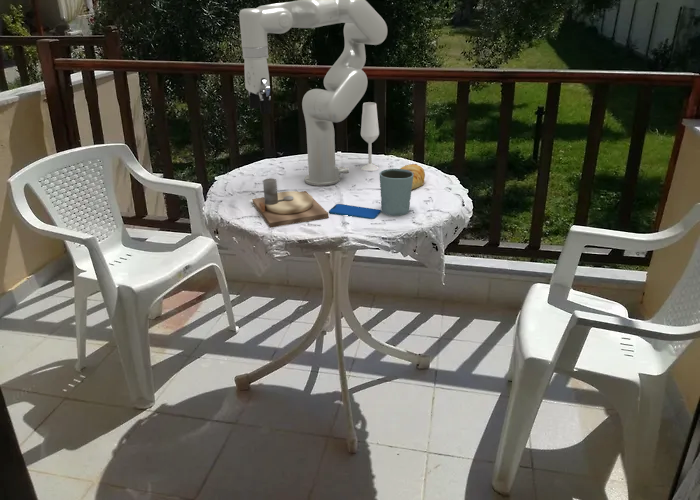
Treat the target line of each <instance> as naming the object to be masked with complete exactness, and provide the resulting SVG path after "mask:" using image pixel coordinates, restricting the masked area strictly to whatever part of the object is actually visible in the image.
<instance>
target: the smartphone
mask: <svg viewBox="0 0 700 500" xmlns="http://www.w3.org/2000/svg"><path fill="white" fill-rule="evenodd" d="M329 213H330V215H335V216H343V215H348V216H347V217H350V216H352V218H359V219H367V220H375V219H376V218H377V217H378V216H379V215H380V214H381V213H382V210H381V209H377V208H371V207H370V208H369V207H363V206H359V205H358V206H357V205H349V204H341V203H337V204H334V206H333V207H331V208H330V209H329V210H328V214H329Z"/></svg>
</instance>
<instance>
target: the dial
mask: <svg viewBox="0 0 700 500" xmlns="http://www.w3.org/2000/svg"><path fill="white" fill-rule="evenodd" d="M262 182H263V183H262V185H263V194H264V195H263V197H264V198H265V200H264V205H265V209H266V210H268V211H270V212H273V213H278V214H293V213H299V212H303V211H306V210H308V209H310V208H311V207H312V206H313V199H314V197H313V196H312V194H310V193H308V192H307V193H308V194H307V193H304V192H302V191H296V190H295V191H293V190H292V191H291V190H289V191H281V192H278V184H277V179H276V178H265V179H263V180H262Z"/></svg>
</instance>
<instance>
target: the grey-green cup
mask: <svg viewBox="0 0 700 500" xmlns="http://www.w3.org/2000/svg"><path fill="white" fill-rule="evenodd" d="M378 174H379V185H380V186H379V187H380V206H381V207H380V210H381V213H382V214H384V215H387V216H393V217H397V216H398V217H399V216H404V215H407V214H408V213H409V212H410V204H411V197H412V190H413V189H412V182H413V176H414V174H413V172H411V171H409V170H405V169H400V168H388V169H382V170H381V171H380V172H379V173H378ZM411 189H412V190H411Z"/></svg>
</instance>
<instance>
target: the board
mask: <svg viewBox="0 0 700 500" xmlns="http://www.w3.org/2000/svg"><path fill="white" fill-rule="evenodd" d="M301 192H304V193H307V194H309V192H308V191H306V190H304V191H301ZM264 200H265V198H264V196H263V197H256V198H252V201H251V202H252V205H254V207H255V209H256V210H257V211H258V213H259V214H260V215H261V217H262V219H263V220H264V221H265V222H266V224H267V225H268V226H269V228H276V227H282V226H289V225H294V224H300V223H306V222H314V221H318V220H323V219H329V216H330V215H329V211H327V210H325V208H324V207H323V206H322V205H321V204H320V203H319V202H318V201H316V200H315V198H313V206H312V207H311V208H310V209H308V210H306V211H303V212H299V213H293V214H278V213H273V212H270V211H268V210H266V209H265V205H264Z"/></svg>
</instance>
